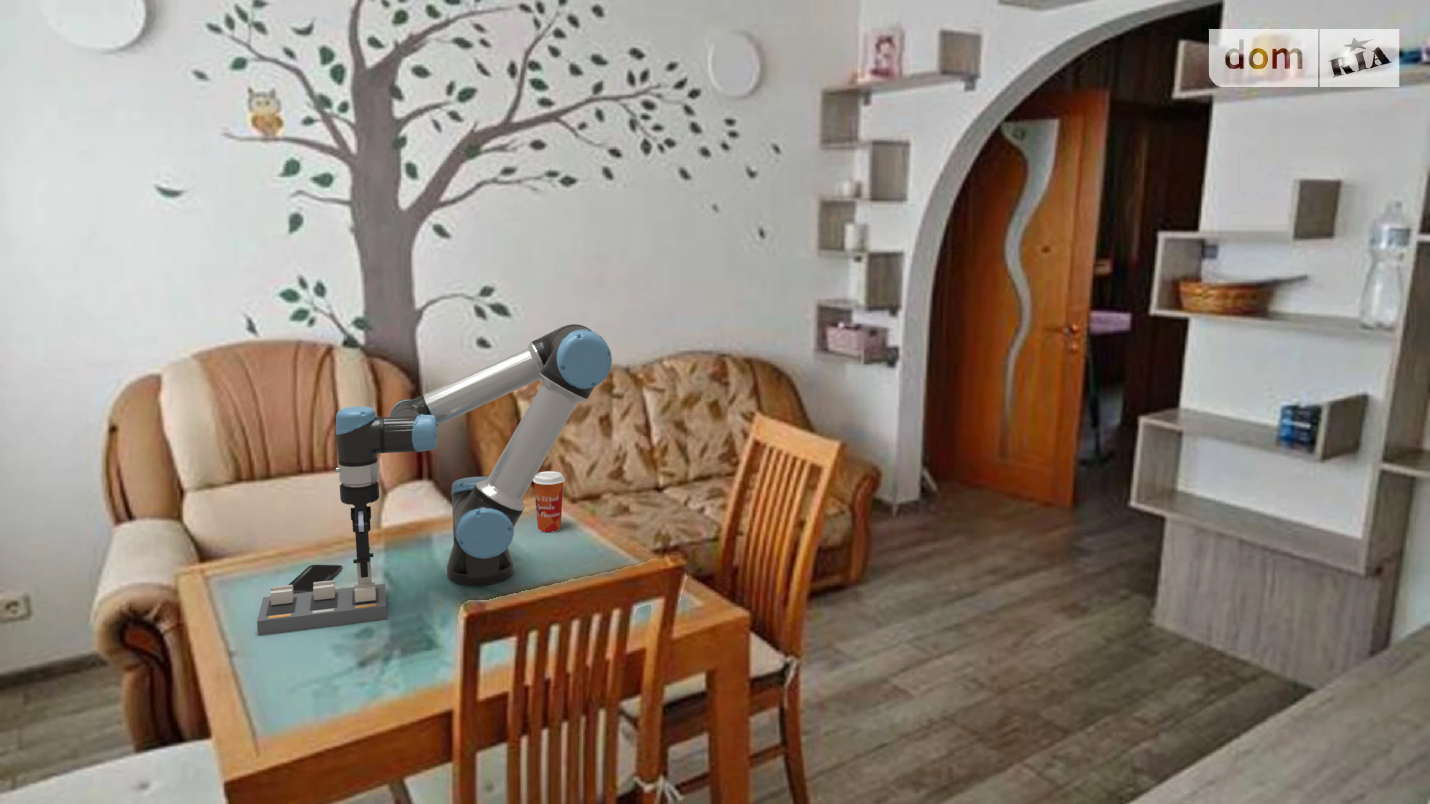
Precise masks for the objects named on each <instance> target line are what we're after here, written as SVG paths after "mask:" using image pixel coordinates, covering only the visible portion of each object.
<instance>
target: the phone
mask: <svg viewBox="0 0 1430 804" xmlns="http://www.w3.org/2000/svg"><path fill="white" fill-rule="evenodd" d="M342 569H343V570H344V567H343V565H341V564H311V565H309V566H307V568H305V569H304V570H303V571H302V572H301V573H299V574H298V575H297V577H295V578H294V579H293V580H292V581H291V582H290V583H288V585H293V592H294V594H296V593H305V592H313V582H321V581H331V580H334V579H335V578H336V577H337V576H338V575H339V574H340V573H341V572H342V571H343V570H342ZM341 570H342V571H341ZM339 572H340V573H339Z"/></svg>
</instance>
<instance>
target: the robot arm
mask: <svg viewBox="0 0 1430 804" xmlns="http://www.w3.org/2000/svg"><path fill="white" fill-rule="evenodd" d="M612 364H613V358H612V352H611V349H610V347H609V345H608V343H607V342H606V340H605V339H604V338H603V337H602V336H601V335H599V334H598V333H597V332H595V331H593V330H591V329H590V328H589V327H587V326H585V325H582V324H577V323H573V324H567V325H564V326H561V327H559V328H557V329H555V330H553V331H551V332H549V333H546V334H544V335H543V336H540V337H539V338H537V339H534V340H532V341H530V342H529V344H528V347H527V348H526V349H523V350H521V351H519V352H516V353H514V354H511V355H509V356H507V357H505V358H503V359H500V360H498V361H496V362H494V363H492V364H489V365H487V366H484V367H482V368H481V369H478V370H476V371H474V372H471V373H468V374H467V375H465V376H463V377H460V378H458V379H456V380H453V381H451V382H449V383H446V384H445V385H442V386H440V387H438V388H435V389H433V390H431V391H428V392H427V393H425V394H422V395H420V396H417V397H415V398H413V399H404V400H401V401H399V402H397V403H396V404H395V405H394V406H393V407H392V410H391V411H390V414H389V416H377V414H376V411H375V408H373V407H371V406H360V405H358V406H357V405H356V406H355V405H354V406H347V407H343V408H341V409H340V410H338V411H337V413H336V415H335V424H336V425H335V427H336V429H335V430H336V432H335V435H336V449H337V461H338V467H336V468H335V472H336V473H339V474H338V475H339V483H340V485H339V497H340V502H341V503H342V504H345V505H348V506H349V505H352V506H354V507H350V520H351V521H352V532H353V533H354V534H355V548H356V550H355V551H356V559H352V560H353V562H352V563H353V564H356V571H357V572H356V574H357V575H356V577H357V584H364V583H373V581H372V580H373V579H372V577H373V576H372V561H371V558H374V553H373V552H371V553H370V550H371V547H370V540H369V538H370V537H369V533H370V531H371V527H372V526H371V519H372V507H371V505H370V506H369V505H368V504H372V503H375V502H376V501H378V500H379V498H380V486H379V485H380V483H379V481H378V480H379V478H380V476H379V460H378V454H390V453H391V454H392V453H393V454H394V453H415V452H417V453H421V452H425V451H426V452H427V451H433V450H436V448H437V447H438V432H437V427H438V426H440V425H442V424H445V423H447V422H448V421H451V420H454V419H455V418H457V417H460V416H462V415H464V414H467V413H469V412H470V411H474V410H475V409H478V408H480V407H483V406H484V405H486V404H489V403H490V402H493V401H496V400H498V399H500V398H502V397H504V396H506V395H508V394H511V393H513V392H515V391H517V390H520V389H522V388H524V387H527V386H529V385H530V384H534V383H536V382H537V381H539V380H541V385H540V386H539V388H538V390H537V391H536V394H535V395H534V397H533V399H532V401H531V403H530V404H529V406H528V408H527V409H526V411H525V413H524V415H523V417H522V418H521V420H520V422H519V423H518V425H517V427H516V428H515V430H514V432H513V434H511V435H512V436H511V437H510V439H509V441H508V442H507V444H506V446H505V447H504V450H503V451H502V453H501V455H500V456H499V458H498V460H497V461H496V463H495V465H494V467H493V468H492V470H491V471H490V474H489V476H472V477H470V476H469V477H463V478H460V479H456V480H455V481H454V482H452V485H451V491H450V495H451V505H452V506H451V507H452V529H453V530H452V535H453V536H452V537H453V544H452V548H451V552H450V554H449V558H448V561H447V564H446V577H447V579H448V580H449V581H450V582H452V583H454V584H457V585H461V586H469V587H470V586H471V587H472V586H473V587H477V586H479V587H480V586H488V585H494V584H496V583H500V582H502V581H505V580H508V579H509V578H510V577H512V576H513V574H514V570H515V569H514V560H513V557H512V555H511V552H510V549H509V548H510V545H511V544H512V542H513V537H514V535H515V527H516V524H517V523H518V520H519V519H520V517H521V515H522V514H523V512H524V511H525V504H524V500H523V499H524V496H525V494H526V492H527V491H528V489H529V487H530V485H531V484H532V482H533V479H534V477H535V475H536V474H538V473H539V470H540V468H541V466H542V465H543V463H544V462H545V459H546V458H547V456H548V455H549V452H550V451H551V450H552V448H553V446H554V444H555V442H556V441H557V439H558V437H559V435H561V432H562V430H563V429H564V427H565V425H566V424H567V422H568V420H569V418H570V417H571V414H572V413H573V411H574V410H575V409H576V406H577V405H578V404H580V403H582V402H586V401H588V399H589V398H590V396H591V394H592V392H593V391H594V389H595V387H597V386H599V385H600V384H601V383H603V382H604V381H605V379H607V377H608V376H609V374H610V371H611V369H612Z"/></svg>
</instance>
